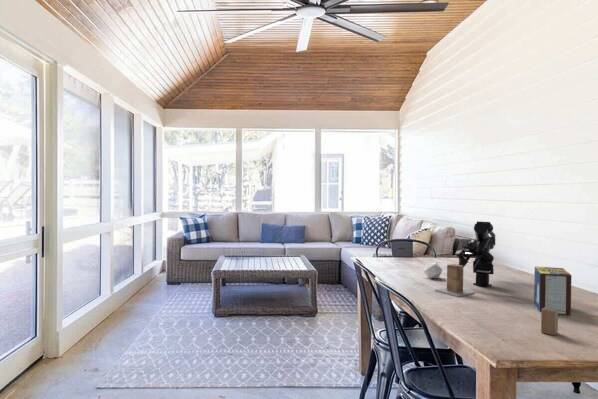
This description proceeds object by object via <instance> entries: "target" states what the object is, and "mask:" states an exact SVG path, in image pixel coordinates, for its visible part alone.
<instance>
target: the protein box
mask: <svg viewBox="0 0 598 399" xmlns="http://www.w3.org/2000/svg"><path fill="white" fill-rule="evenodd" d="M533 289H534V290H533V292H534V293H533V303H534V305H535V306H536V308H537V310H538V312H539V311H540V312H539V313H541V310H542V309H543V308H544V307H548V308H554V309H558V315H562V314H565V315H564V316H571V315H572V274H571V273H570V272H568V270H566V269H565V268H563V267H551V266H536V265H535V266H534V288H533Z"/></svg>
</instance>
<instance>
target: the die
mask: <svg viewBox="0 0 598 399" xmlns="http://www.w3.org/2000/svg"><path fill="white" fill-rule="evenodd" d="M423 272H424V274H425V276H426V277H427V278H428V279H429V278H439V279H440V276H441V274H442V272H443V268H442V267H441V266H440V264H438V262H426V264H425V267H424V269H423Z"/></svg>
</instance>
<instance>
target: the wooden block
mask: <svg viewBox="0 0 598 399" xmlns="http://www.w3.org/2000/svg"><path fill="white" fill-rule="evenodd" d="M540 313H541V315H540V316H541V318H540V319H541V320H540V321H541V322H540V325H541V326H540V332H541V333H542V334H545V333H546V334H545V335H549V334H550V336H553V335H554V336H556V335H557V334H558V333H559V332H558V331H559V314H558V309H554V308H548V307H544V308H543V309H542V310H541V312H540Z"/></svg>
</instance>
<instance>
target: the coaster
mask: <svg viewBox="0 0 598 399" xmlns="http://www.w3.org/2000/svg"><path fill="white" fill-rule="evenodd" d="M435 292H437V293H441V294H446V295H448V296H449V295H450V296H452V297H455V298H459V297H465V296H469V295H473V294H475V293H476V292H474V291H471V290H467V289H463V292H458V293H454V292H451V291H447V287H445V288H444V287H443V288H438V289H435Z"/></svg>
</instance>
